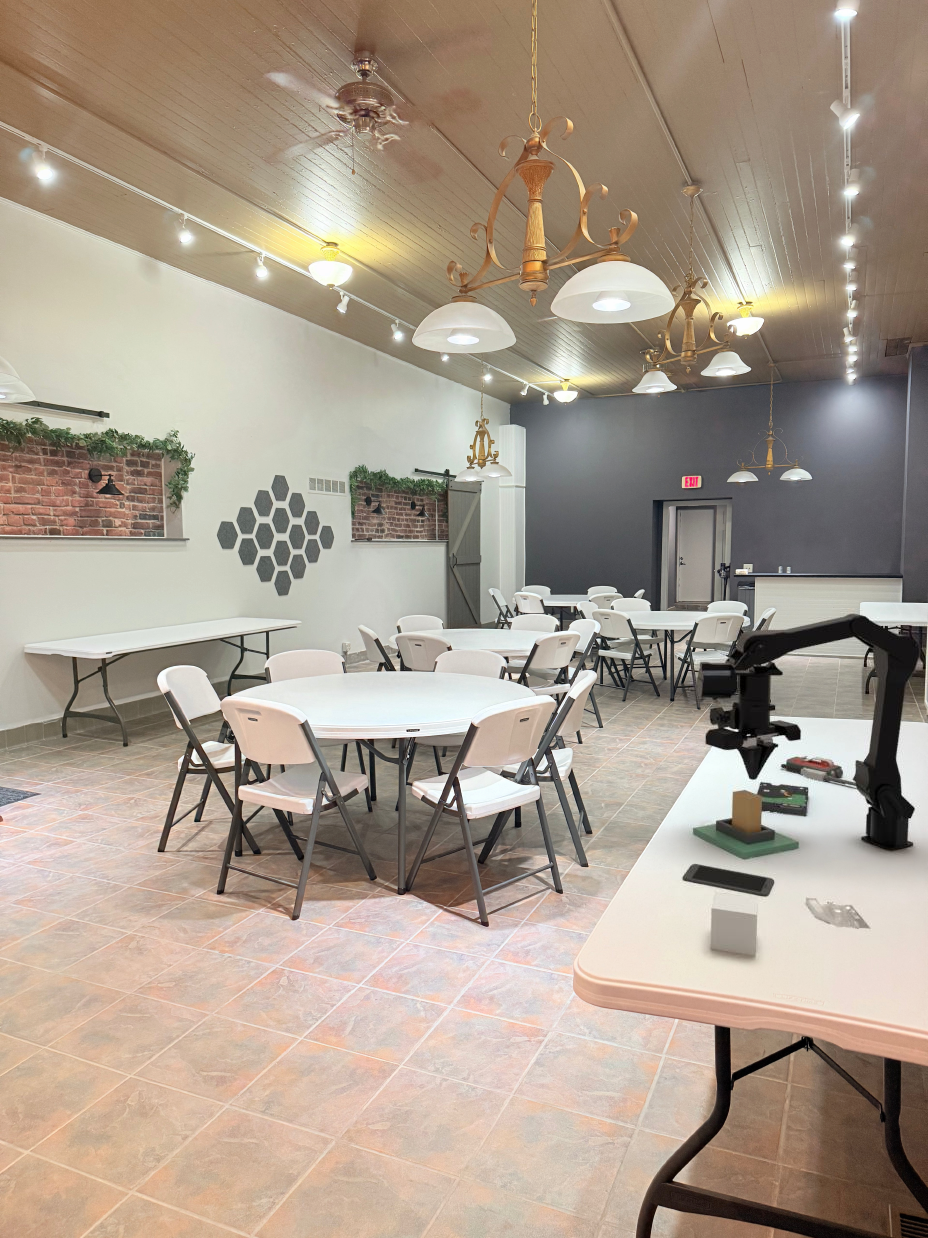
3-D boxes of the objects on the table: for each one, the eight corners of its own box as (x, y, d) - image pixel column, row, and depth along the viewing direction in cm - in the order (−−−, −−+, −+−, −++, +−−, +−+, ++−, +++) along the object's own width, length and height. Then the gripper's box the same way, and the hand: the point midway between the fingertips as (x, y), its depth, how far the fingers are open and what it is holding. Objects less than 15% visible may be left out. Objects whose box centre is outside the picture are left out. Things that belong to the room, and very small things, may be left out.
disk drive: (759, 793, 186) (754, 812, 173) (759, 781, 186) (754, 799, 172) (808, 799, 182) (807, 818, 168) (808, 786, 182) (807, 805, 168)
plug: (760, 838, 153) (762, 796, 152) (748, 840, 152) (749, 798, 151) (740, 829, 158) (742, 788, 157) (728, 831, 157) (729, 790, 156)
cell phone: (691, 867, 144) (691, 863, 144) (775, 883, 137) (775, 878, 137) (680, 882, 137) (681, 878, 137) (767, 899, 130) (767, 895, 130)
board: (798, 848, 151) (799, 832, 151) (744, 859, 146) (744, 843, 146) (744, 824, 164) (745, 810, 164) (693, 834, 159) (693, 819, 158)
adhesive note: (756, 937, 118) (758, 897, 117) (755, 957, 112) (757, 915, 111) (713, 930, 120) (714, 890, 119) (710, 949, 114) (711, 908, 114)
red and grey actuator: (775, 772, 202) (854, 791, 186) (775, 755, 202) (855, 773, 186) (794, 766, 208) (873, 784, 192) (795, 749, 207) (874, 766, 191)
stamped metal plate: (805, 906, 128) (805, 897, 128) (851, 908, 128) (851, 899, 127) (821, 930, 120) (822, 920, 120) (870, 932, 120) (871, 922, 120)
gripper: (760, 687, 164) (758, 763, 166) (686, 695, 157) (685, 774, 158) (803, 696, 154) (801, 777, 156) (727, 705, 147) (725, 790, 148)
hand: (752, 779), depth 155 cm, fingers closed
